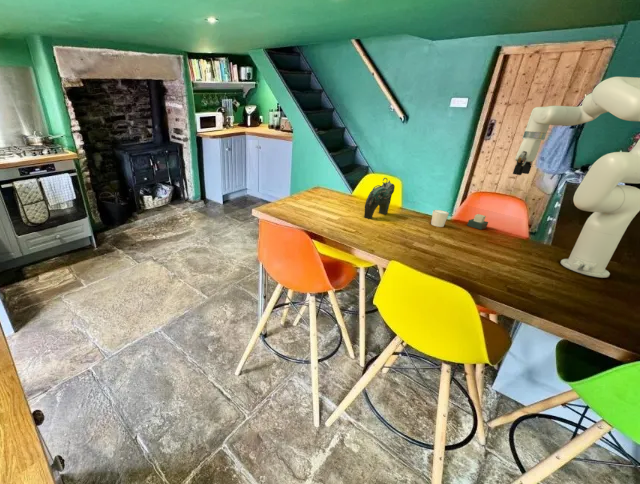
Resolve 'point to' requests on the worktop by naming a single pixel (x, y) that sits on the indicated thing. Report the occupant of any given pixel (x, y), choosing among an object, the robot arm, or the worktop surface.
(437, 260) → the worktop surface
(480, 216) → the peg
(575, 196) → the robot arm
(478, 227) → the dark square tray
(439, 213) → the cream cup
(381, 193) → the dark green arched piece
